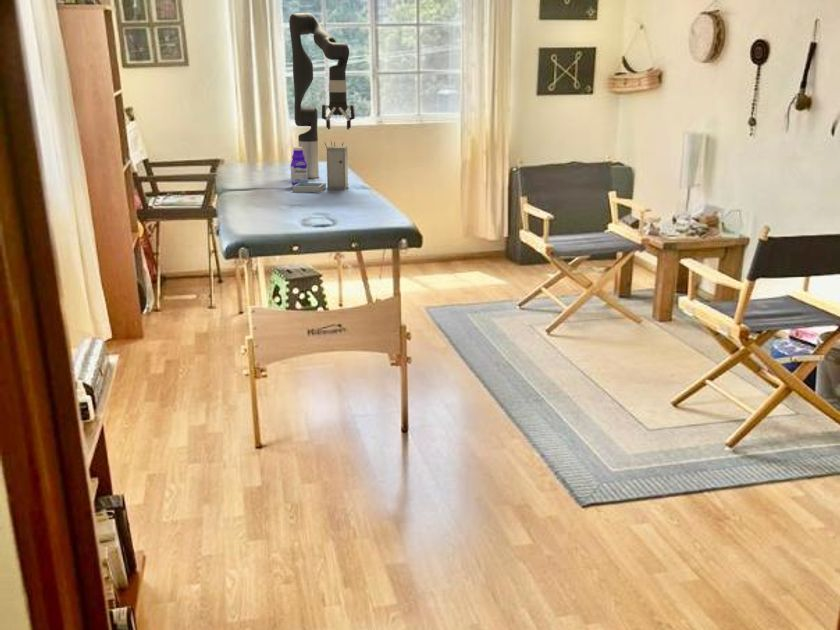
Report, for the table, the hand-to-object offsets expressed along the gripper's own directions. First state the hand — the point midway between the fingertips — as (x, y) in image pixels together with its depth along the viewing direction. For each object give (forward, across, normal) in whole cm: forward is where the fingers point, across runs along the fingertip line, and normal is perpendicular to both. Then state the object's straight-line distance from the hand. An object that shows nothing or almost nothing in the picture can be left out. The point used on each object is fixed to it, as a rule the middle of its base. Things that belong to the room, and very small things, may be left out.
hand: (338, 129), depth 355 cm
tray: (+25, +11, +13) cm, 30 cm away
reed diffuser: (+25, +2, -3) cm, 26 cm away
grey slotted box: (+25, 0, +5) cm, 26 cm away
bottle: (+25, +18, +2) cm, 31 cm away
